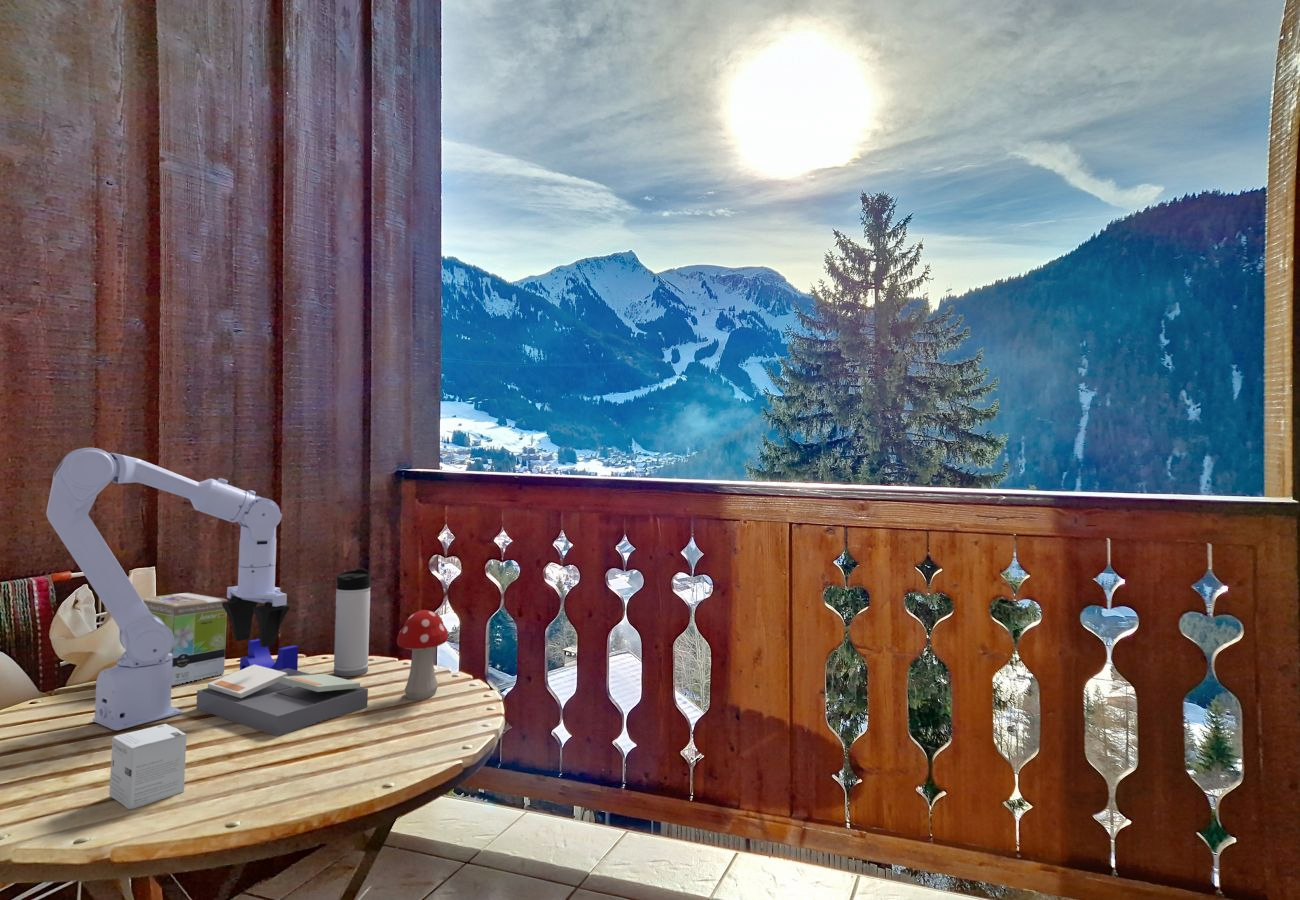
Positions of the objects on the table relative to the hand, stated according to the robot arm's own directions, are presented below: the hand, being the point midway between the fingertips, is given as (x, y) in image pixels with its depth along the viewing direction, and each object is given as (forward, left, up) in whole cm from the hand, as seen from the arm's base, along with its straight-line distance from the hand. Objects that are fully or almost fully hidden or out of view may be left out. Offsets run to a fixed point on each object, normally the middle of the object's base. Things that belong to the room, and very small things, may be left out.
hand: (254, 642), depth 124 cm
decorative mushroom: (+17, -23, -10) cm, 30 cm away
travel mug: (+19, -1, -10) cm, 21 cm away
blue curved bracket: (+9, +11, -10) cm, 17 cm away
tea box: (0, +25, -10) cm, 27 cm away
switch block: (+2, -9, -9) cm, 14 cm away
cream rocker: (-3, -4, -5) cm, 7 cm away
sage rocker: (+3, -15, -5) cm, 16 cm away
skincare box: (-28, -25, -10) cm, 39 cm away
